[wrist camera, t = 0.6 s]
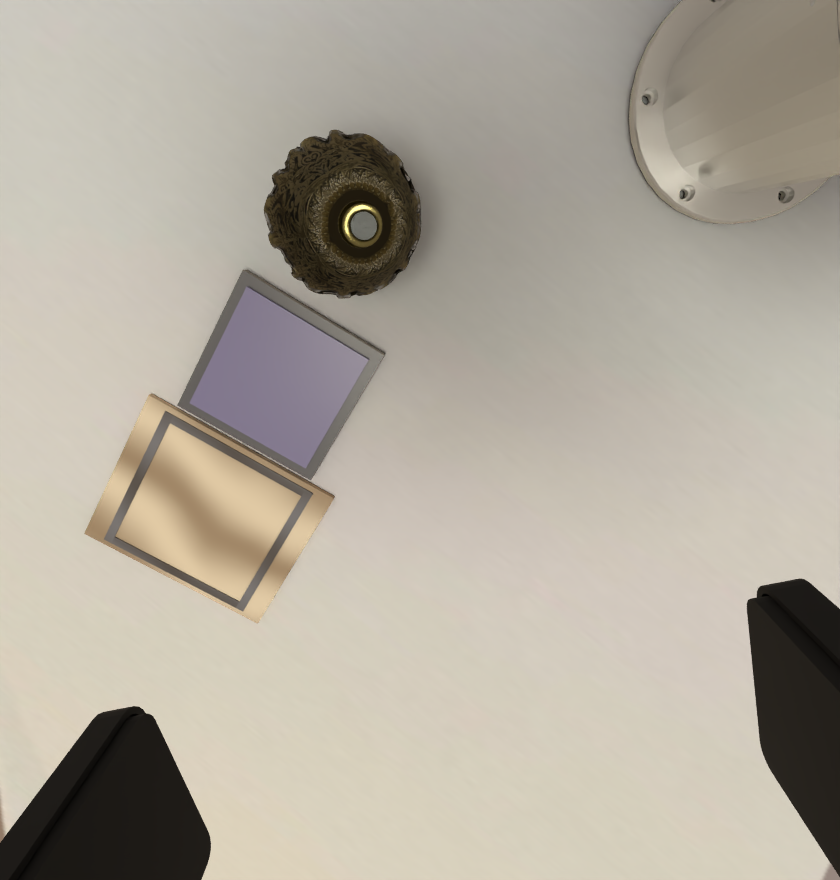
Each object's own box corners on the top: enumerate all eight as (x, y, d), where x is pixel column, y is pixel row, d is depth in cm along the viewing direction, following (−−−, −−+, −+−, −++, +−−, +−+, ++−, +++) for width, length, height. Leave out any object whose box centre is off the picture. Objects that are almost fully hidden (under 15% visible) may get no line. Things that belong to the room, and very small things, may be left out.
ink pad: (246, 269, 36) (241, 270, 35) (385, 353, 37) (383, 356, 36) (182, 402, 39) (175, 406, 38) (312, 476, 40) (309, 482, 39)
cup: (279, 197, 34) (233, 181, 27) (387, 133, 33) (371, 96, 26) (341, 310, 36) (315, 325, 29) (446, 253, 35) (447, 252, 27)
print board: (151, 393, 38) (148, 395, 38) (334, 496, 40) (333, 499, 40) (87, 531, 42) (83, 534, 41) (259, 620, 44) (257, 624, 43)
